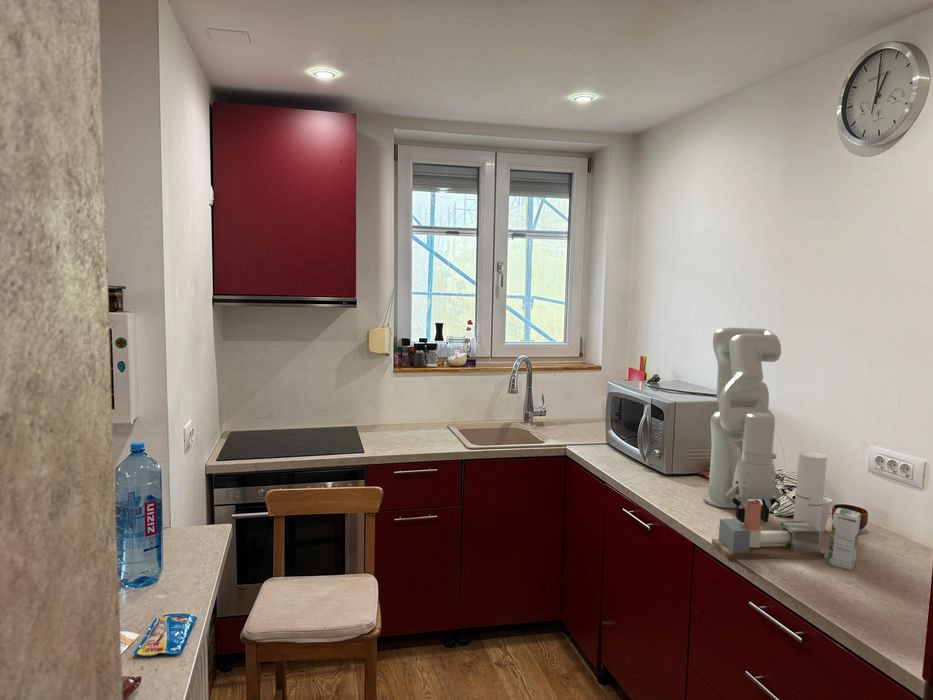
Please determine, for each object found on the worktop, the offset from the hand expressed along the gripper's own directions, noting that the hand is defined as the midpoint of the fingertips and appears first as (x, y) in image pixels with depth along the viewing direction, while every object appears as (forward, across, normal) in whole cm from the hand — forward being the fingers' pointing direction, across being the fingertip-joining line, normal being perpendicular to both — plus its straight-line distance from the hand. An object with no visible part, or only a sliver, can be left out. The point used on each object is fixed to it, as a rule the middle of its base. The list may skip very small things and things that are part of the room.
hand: (751, 520), depth 174 cm
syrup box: (+9, -22, +8) cm, 25 cm away
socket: (+8, +5, 0) cm, 9 cm away
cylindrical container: (+9, -22, -10) cm, 26 cm away
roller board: (+9, -5, 0) cm, 10 cm away
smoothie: (+9, -30, -15) cm, 34 cm away
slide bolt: (+7, -4, 0) cm, 8 cm away
